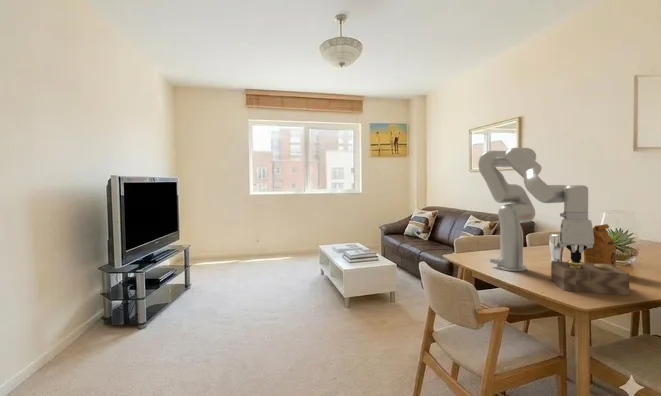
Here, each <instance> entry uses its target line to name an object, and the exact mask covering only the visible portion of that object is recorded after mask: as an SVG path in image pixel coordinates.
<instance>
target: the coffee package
mask: <svg viewBox="0 0 661 396" xmlns="http://www.w3.org/2000/svg"><path fill="white" fill-rule="evenodd" d="M607 229H610V225H608V223H605V224H599V225H594V226H593V233H594V244H593V247H592V248H586V249H585V250H584V251H583V263H598V264H610V265H612V266H614V267H616V268H617V246H616V243H615V242H614V240H613V238H612V237H611V235H609V232H608V230H607Z"/></svg>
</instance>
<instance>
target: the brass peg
mask: <svg viewBox="0 0 661 396" xmlns="http://www.w3.org/2000/svg"><path fill="white" fill-rule="evenodd" d="M566 262H567V263H568V264H570V267H574V268H581V265H583V264H584V261H582V260H580V263H578V262H577V263H575V262H573V261H572V260H571V259H568V260H567V261H566Z"/></svg>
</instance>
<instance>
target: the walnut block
mask: <svg viewBox="0 0 661 396" xmlns="http://www.w3.org/2000/svg"><path fill="white" fill-rule="evenodd" d="M550 261H551V260H550ZM583 263H584V262H583ZM550 265H551V266H550V267H551V269H550V271H551V272H550V274H551V275H550V276H551V277H550V278H551V279H550V280H551V281H552V282H553V283H554V284H556V285H557V286H558V287H559V288H560V289H562V290H563V291H569V292H581V293H582V292H583V293H593V294H594V293H595V294H607V295H608V294H609V295H619V296H620V295H621V296H630V273H628V272H627V271H625V270H622V269H621V268H618V267H617V266H616V267H614V266H612V265H610V264H598V263H584V264H583V265H581V268H574V267H570V264H568V263H567V261H564V262H559V261H551V264H550Z"/></svg>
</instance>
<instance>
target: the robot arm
mask: <svg viewBox="0 0 661 396" xmlns="http://www.w3.org/2000/svg"><path fill="white" fill-rule="evenodd" d="M536 160H537V154H536V151H534V150H533V149H532V148H529V147H512V148H510V149H508V150H488V151H484V152H483V153H482V154H481V155H480V156H479V159H478V165H477V166H478V170H479V173H480V175H481V176H482V178H483V179H484V181H485V183H486V185H487V187H488V189H489V192H490V194H491V196H492V197H493V199H494V201H495V202H496V203H497V204H504V205H502V206H500V208H499V209H498V212H497V216H498V221H499V227H500V230H499V231H500V233H499V234H500V235H499V236H500V245H499V246H500V254H499V255H500V256H499V257H498V258H490V259H489V263H491V264H496V267H497V269H500V270H504V271H510V272H525V271H527V269H528V267H527V266H526V265H524V231H523V228H522V226H521V224H522V223H528V222H532V221H533V220H534V219H535V217H536V209H535V206H534V205H533V202H532V201H531V200H530V197H529V195H528V194H527V192H528V193H529V194H530V195H532V197H534V199H536V200H537V201H538V202H540V203H542V204H560V203H563V210H564V211H563V212H561V213H559V216H560V218H561V217H562V220H561V222H560V223H561V224H560V228H559V234H560V246H561V247H565V248H566V250H569V251H570V260H572V261H573V262H575V263H577V262H578V263H580V261H582V254H583V253H584V250H585V249H586V248H592V247H593V244H594V233H593V228H594V226H593V223H592V220H591V219H589V187H588V186H587V185H583V184H580V185H579V184H575V185H574V184H571V185H566V184H547V183H546V182H545V181H544V180H542V179H541V177H540V176H539V174H541V171H542V169H543V168H542V166H541V164H539V163H538V162H537V161H536ZM498 168H512V169H513V170H514V171H516V173H517V174H518V175H520V176H521V178H522V179H523V183H524V186H525V188H526V190H527V192H526V190H525V189H524V188H523V187H522V186H521V185H519V184H515V183H512V184H511V183H508V182H507V180H506V178H505V176H504V175H503V173H502V172H501V171H500V170H498Z"/></svg>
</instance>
